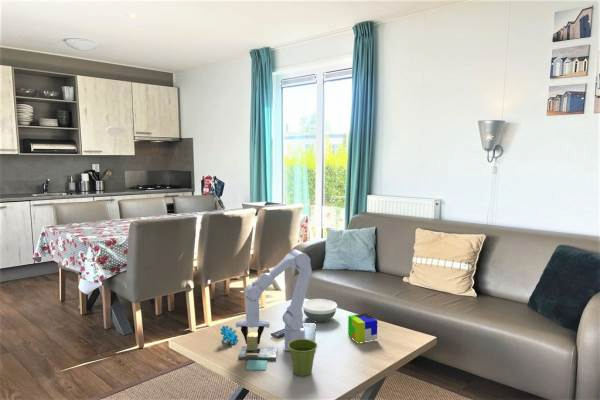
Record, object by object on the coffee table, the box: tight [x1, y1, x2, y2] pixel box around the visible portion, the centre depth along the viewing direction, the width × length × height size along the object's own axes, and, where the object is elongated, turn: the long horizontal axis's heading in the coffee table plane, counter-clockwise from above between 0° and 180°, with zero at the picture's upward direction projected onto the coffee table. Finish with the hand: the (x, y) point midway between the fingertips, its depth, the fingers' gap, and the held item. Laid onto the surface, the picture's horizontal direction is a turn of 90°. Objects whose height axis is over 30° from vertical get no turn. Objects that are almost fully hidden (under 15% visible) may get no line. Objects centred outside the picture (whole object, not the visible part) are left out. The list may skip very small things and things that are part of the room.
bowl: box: [302, 298, 338, 323], centre depth 222 cm, size 19×19×8 cm
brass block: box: [246, 331, 260, 350], centre depth 181 cm, size 4×4×6 cm
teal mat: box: [245, 360, 268, 371], centre depth 172 cm, size 8×8×1 cm
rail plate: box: [237, 345, 279, 362], centre depth 181 cm, size 16×10×1 cm, turn 88°
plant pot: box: [288, 338, 319, 377], centre depth 166 cm, size 12×12×11 cm
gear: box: [220, 325, 239, 346], centre depth 194 cm, size 11×6×10 cm
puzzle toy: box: [347, 312, 378, 344], centre depth 199 cm, size 10×10×10 cm
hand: (252, 342), depth 181 cm, fingers closed on brass block, 4 cm apart
